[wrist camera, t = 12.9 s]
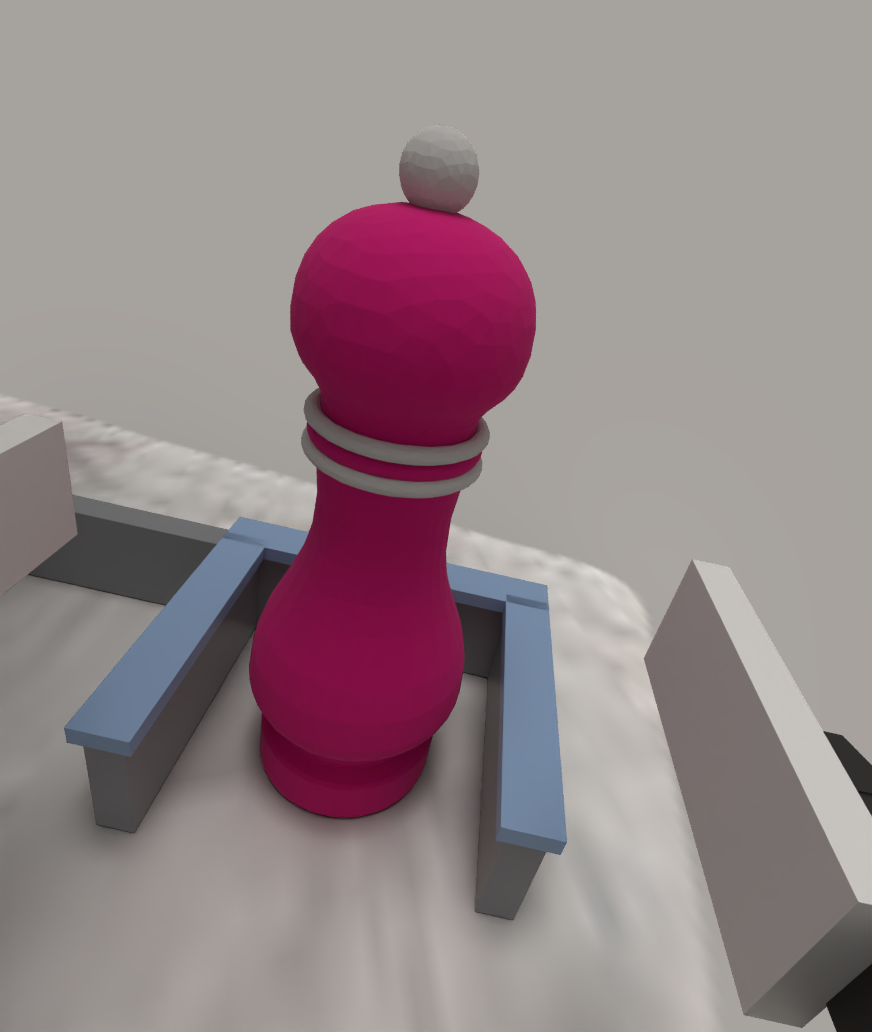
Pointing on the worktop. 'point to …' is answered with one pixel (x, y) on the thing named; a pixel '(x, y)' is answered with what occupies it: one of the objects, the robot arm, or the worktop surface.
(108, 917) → the worktop surface
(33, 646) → the worktop surface
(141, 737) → the divider rack
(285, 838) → the worktop surface
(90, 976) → the worktop surface
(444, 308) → the pepper mill
